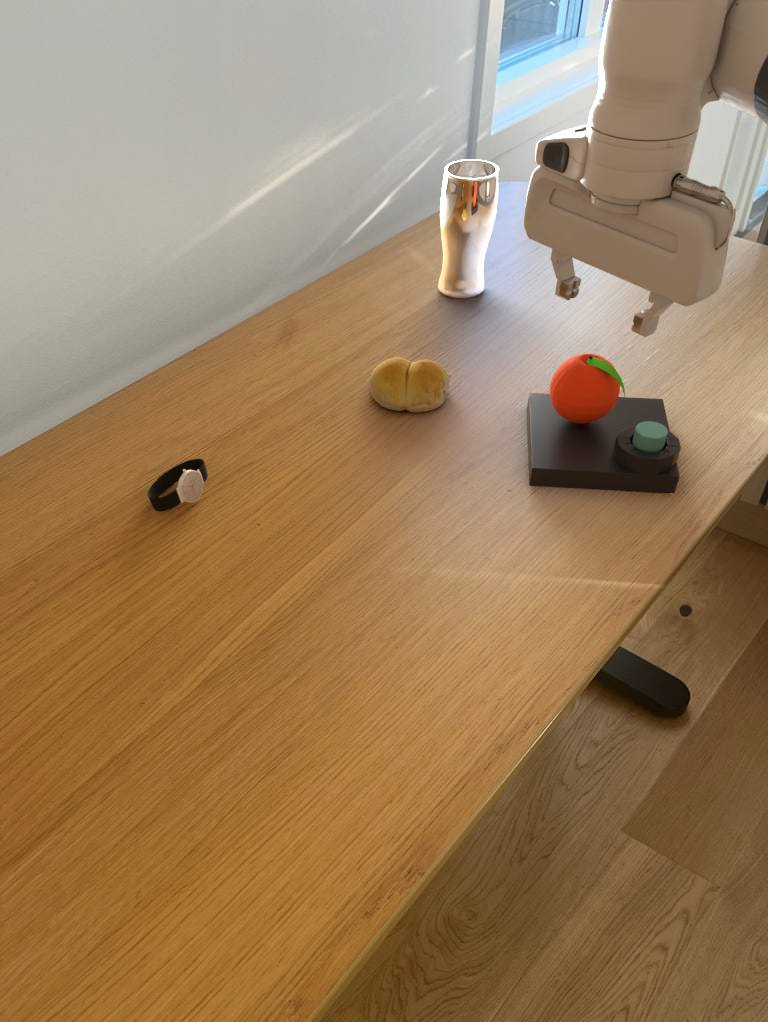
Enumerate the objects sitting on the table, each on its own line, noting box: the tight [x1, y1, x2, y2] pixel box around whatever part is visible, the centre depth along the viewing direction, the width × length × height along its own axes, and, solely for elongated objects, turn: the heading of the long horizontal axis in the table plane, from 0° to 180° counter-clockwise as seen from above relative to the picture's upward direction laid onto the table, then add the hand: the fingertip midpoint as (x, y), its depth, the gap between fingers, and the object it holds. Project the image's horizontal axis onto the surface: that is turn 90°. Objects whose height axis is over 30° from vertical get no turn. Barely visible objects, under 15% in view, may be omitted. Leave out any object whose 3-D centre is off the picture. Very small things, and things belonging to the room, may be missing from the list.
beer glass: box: [437, 159, 500, 299], centre depth 120 cm, size 7×7×15 cm
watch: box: [147, 458, 209, 512], centre depth 95 cm, size 8×5×4 cm, turn 147°
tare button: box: [632, 421, 668, 452], centre depth 92 cm, size 3×3×2 cm
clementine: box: [549, 353, 626, 424], centre depth 96 cm, size 8×7×7 cm
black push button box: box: [526, 392, 682, 495], centre depth 97 cm, size 14×14×4 cm
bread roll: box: [368, 356, 451, 413], centre depth 106 cm, size 8×9×4 cm
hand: (603, 314), depth 90 cm, fingers open, 8 cm apart
